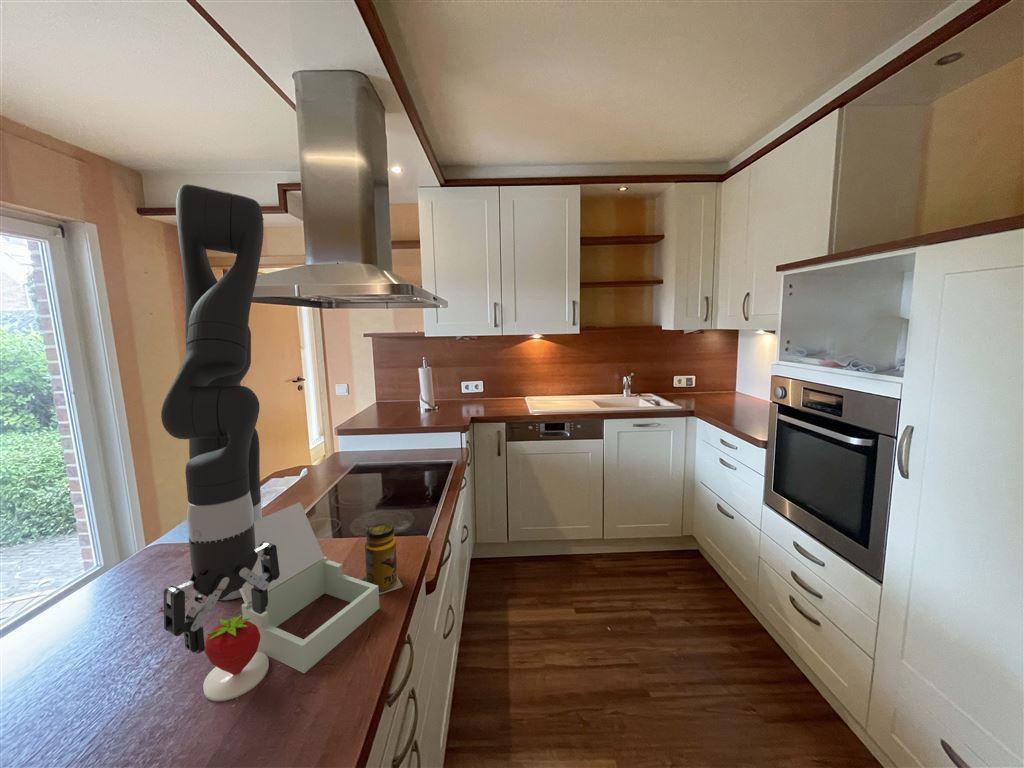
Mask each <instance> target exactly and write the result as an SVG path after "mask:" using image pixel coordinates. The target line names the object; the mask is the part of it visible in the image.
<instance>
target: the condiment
mask: <svg viewBox="0 0 1024 768" xmlns="http://www.w3.org/2000/svg"><path fill="white" fill-rule="evenodd" d="M394 532H395V529H394V526H393V525H391V524H389V523H377V524H373V525H372V526H369V528H368V529H367V530H366V542H365V544H364V552H365V553H364V554H365V556H364V557H365V576H364V577H361V578H358V579H359V580H362V581H365V582H368V583H371V584H374V585H377V586H379V595H383V594H386V593H389V592H393V591H395V590H397V589H401V588H403V587H404V585H403V583H402V582H401V580H400V579H399V578H398V573H397V572H398V568H397V566H398V565H397V558H398V557H397V540H396V538H395V533H394Z"/></svg>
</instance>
